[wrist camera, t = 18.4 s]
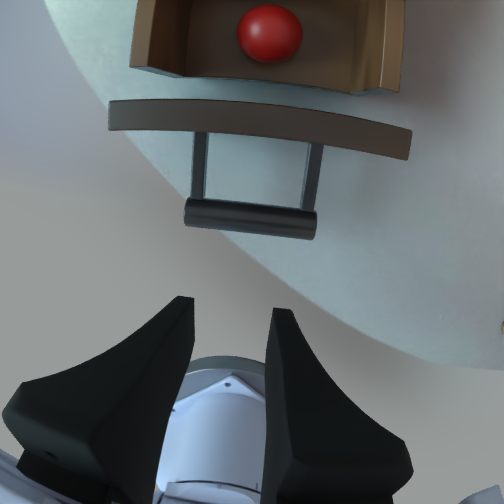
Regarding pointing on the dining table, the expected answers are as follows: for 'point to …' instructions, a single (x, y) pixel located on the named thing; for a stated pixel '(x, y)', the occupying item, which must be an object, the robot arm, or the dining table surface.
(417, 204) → the dining table surface
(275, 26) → the ball
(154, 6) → the drawer
